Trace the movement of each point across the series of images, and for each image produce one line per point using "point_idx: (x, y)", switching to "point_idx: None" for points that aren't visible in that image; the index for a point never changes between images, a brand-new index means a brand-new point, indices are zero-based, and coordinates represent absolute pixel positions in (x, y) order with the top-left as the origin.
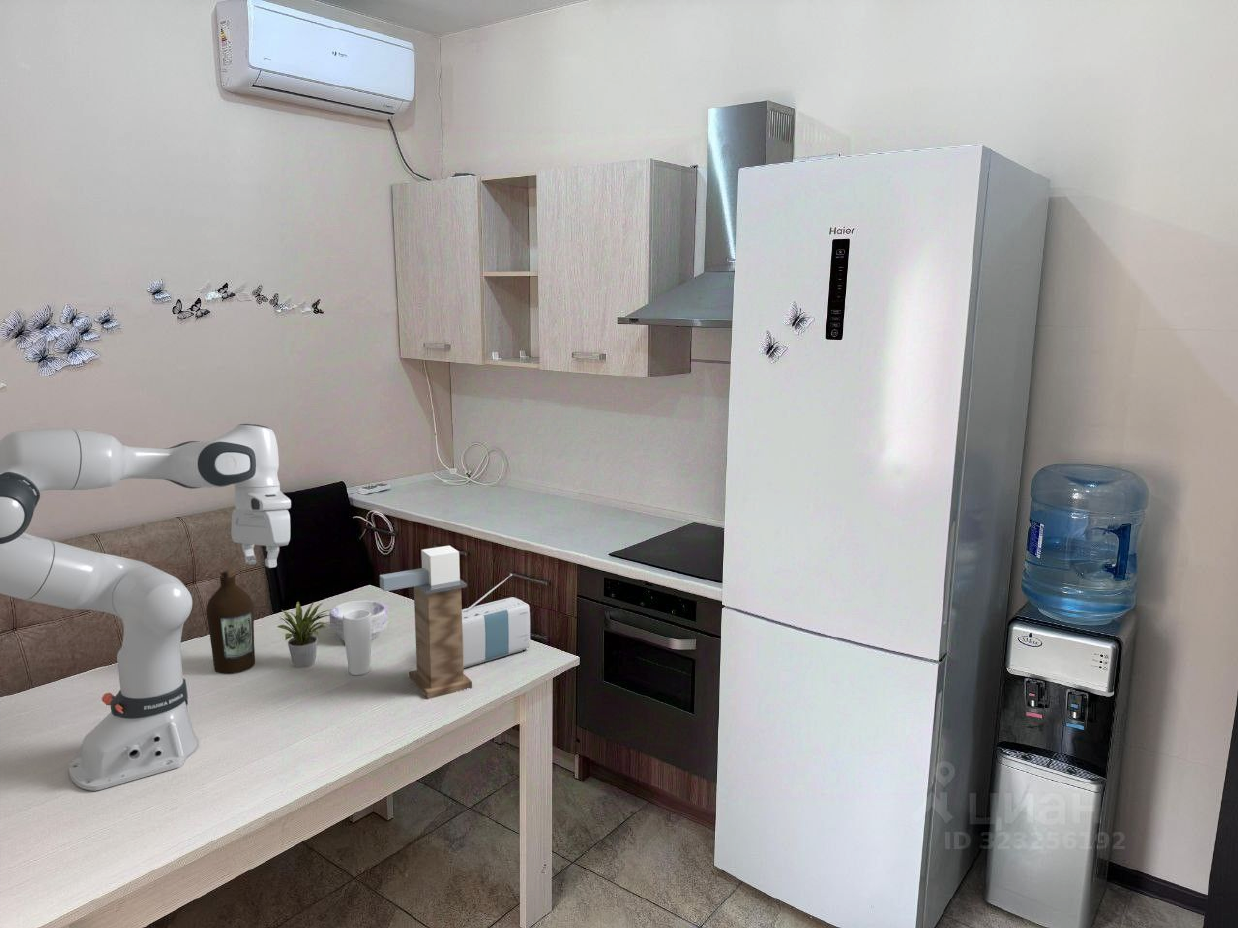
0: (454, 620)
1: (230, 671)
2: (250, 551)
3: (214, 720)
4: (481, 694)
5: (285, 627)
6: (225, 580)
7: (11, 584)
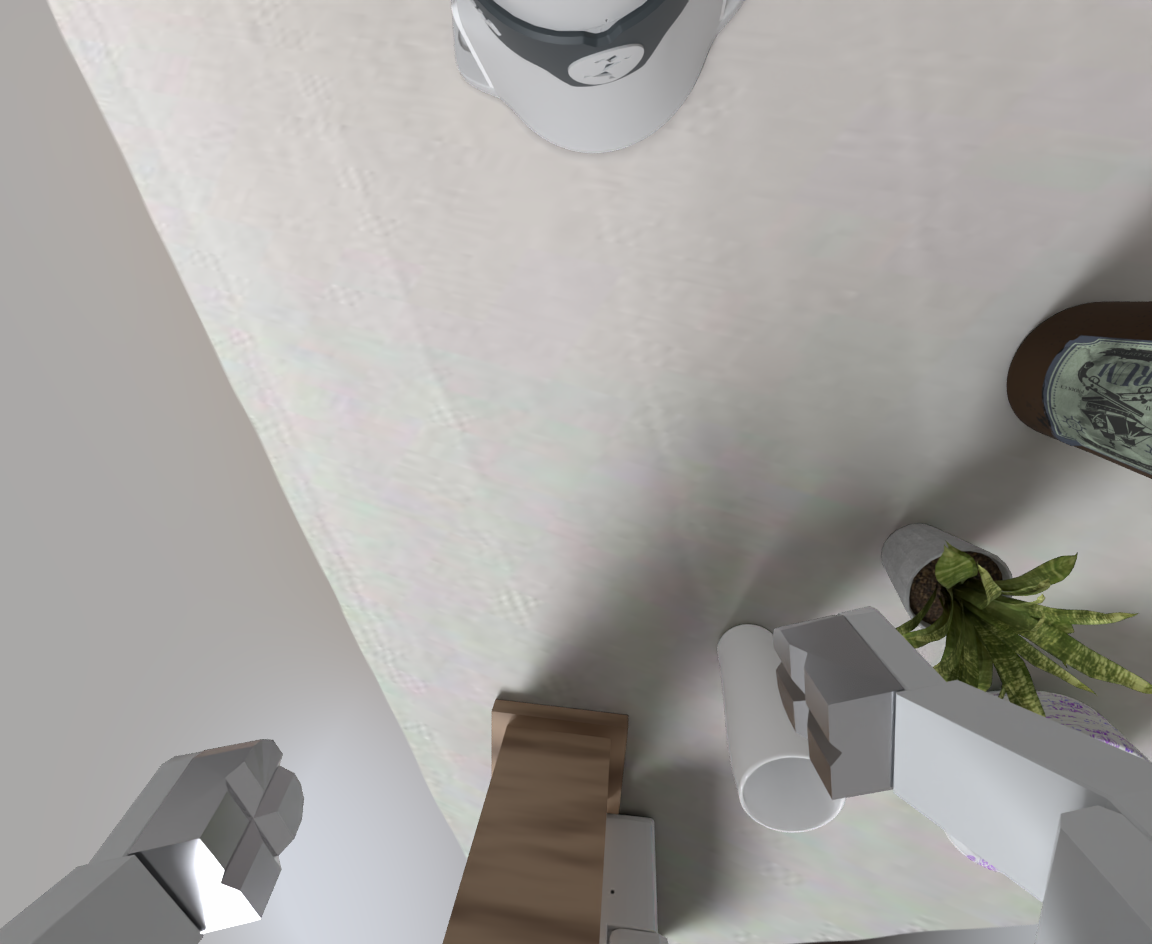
0: None
1: (1025, 345)
2: (982, 817)
3: (701, 226)
4: (455, 781)
5: (1042, 577)
6: None
7: None
